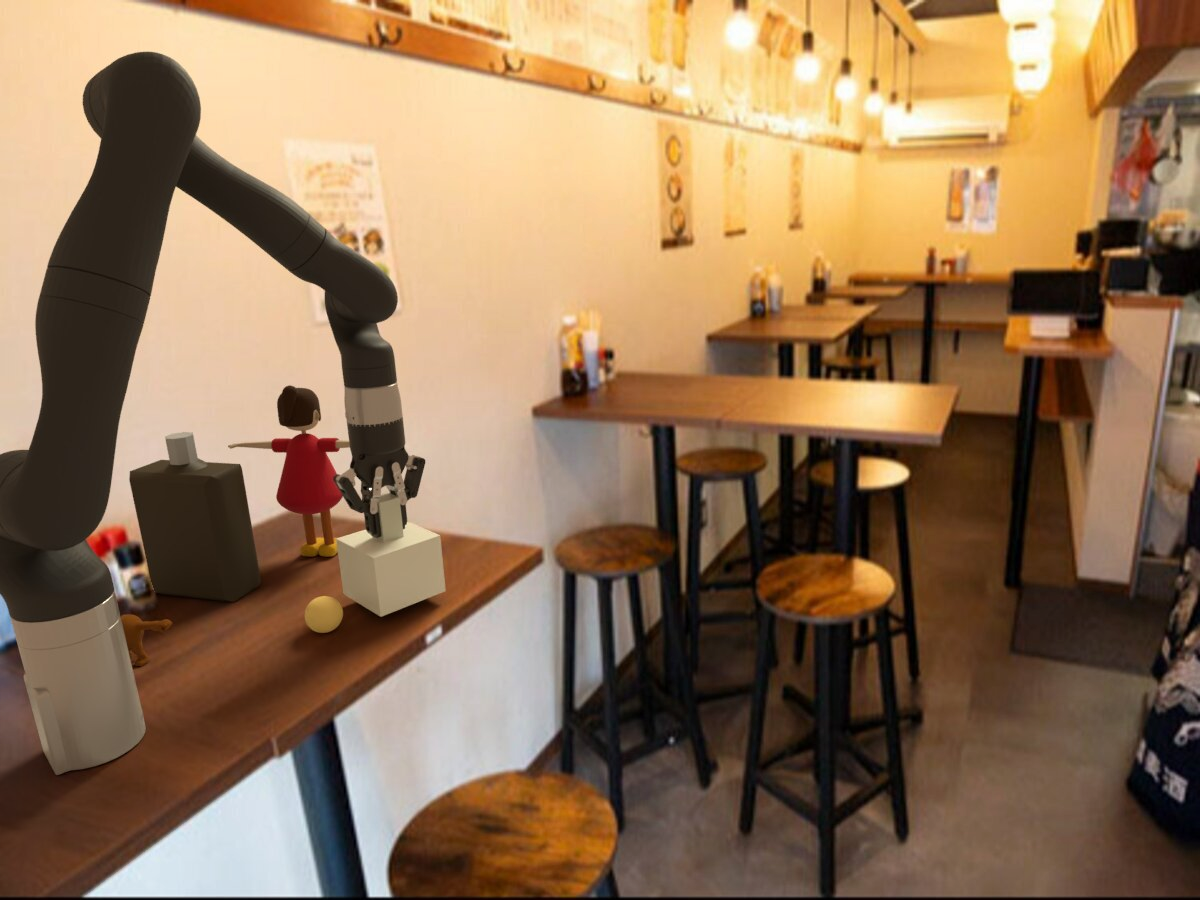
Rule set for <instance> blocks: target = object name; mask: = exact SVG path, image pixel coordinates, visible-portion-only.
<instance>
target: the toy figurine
mask: <svg viewBox="0 0 1200 900" xmlns="http://www.w3.org/2000/svg"><path fill="white" fill-rule="evenodd" d="M120 617H121V621H122V625H123V630H124V634H125V638H126V643H127V647H128V652H129V656H130V660H131V664H133V663H134V666H135V667H137V666H140V667H143V666H145V665H147V664H148V663H149V662H150V660H151V659H150V657H149V656H148V654H147V652H146V651H144V646H143V641H142V639H143V637H144V633H145V630H146V631H147V630H151V631H155V632H157V631H158V633H161V634H166V633H167V630H168V629H169V628H170V627H171V626H172V625H173V621H171V620H169V619H166V618H164V619H163V620H153V621H150V620H149V621H148V620H146V621H143V620H142V618H140V617H139V616H138V615H135V614H130V613H127V614H122V615H120ZM131 650H132V651H131ZM133 653H134V654H135V655H136V658H137V659H136V658H135V656H134V654H133ZM135 659H136V660H135ZM146 663H147V664H146Z"/></svg>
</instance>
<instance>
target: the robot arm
mask: <svg viewBox="0 0 1200 900" xmlns="http://www.w3.org/2000/svg"><path fill="white" fill-rule="evenodd" d="M82 108H83V113H84V115H85V118H86V120H87V122H88V125H90V127H91V129H92V130H93V131H94V133H95V134H96V135H97V136H98V137H99V138H100V142H99V148H98V153H97V157H96V161H95V164H94V168H93V171H92V174H91V176H90V178H89V180H88V181H87V184H86V186H85V188H84V190H83V191H82V193H81V194H80V195H81V196H80V197H79V199H78V200H77V202H76V204H75V206H74V207H73V209H72V210H71V213H70V215H69V216H68V217H67V220H66V222H65V224H64V226H63V228H62V230H61V232H59V236H58V238H57V240H56V241H55V244H54V247H53V249H52V251H51V254H50V255H49V259H48V262H47V266H46V271H45V274H44V279H43V282H42V286H41V289H40V293H39V297H38V300H37V304H36V311H35V321H34V323H35V324H34V326H35V341H36V347H37V355H38V359H39V360H38V362H39V367H40V375H41V390H42V391H41V393H42V394H41V395H42V396H41V403H40V410H39V414H38V418H37V422H36V426H35V428H34V432H33V434H32V439H31V442H30V445H29V447H28V449H15V450H9V451H6V452H3V453H0V597H2V599H3V600H4V602H5V604H6V607H7V610H8V614H9V617H10V621H11V625H12V628H13V633H14V636H15V639H16V643H17V646H18V647H17V648H18V651H19V655H20V659H21V663H22V666H23V669H24V674H23V681H24V684H25V685H24V686H25V688H26V692H27V696H28V700H29V702H30V707H31V710H32V714H33V718H34V722H35V725H36V729H37V731H38V736H39V739H40V744H41V749H42V751H43V753H44V755H45V757H46V759H47V761H48V763H49V765H50V767H51V769H52V771H53V773H54V774H55V775H56V776H59V775H61V774H64V773H67V772H69V771H77V770H85V769H89V768H93V767H97V766H99V765H102V764H103V765H104V764H105V763H108V762H110V761H113V760H115V759H117V758H119V757H121V756H122V755H125V753H128V752H129V751H131V750H132V749H133V748H135V746H137V744H139V743H140V741H141V740H142V739H143V737H144V735H145V733H146V729H147V727H146V724H145V723H146V722H145V719H144V712H143V709H142V705H141V700H140V696H139V692H138V687H137V683H136V678H135V674H134V669H133V665H132V663H131V660H130V656H129V652H128V647H127V643H126V638H125V634H124V630H123V625H122V621H121V617H120V616H121V613H120V609H119V604H118V599H117V596H116V591H115V585H114V582H113V581H114V580H113V577H112V573H111V570H110V568H109V567H108V565H107V564H106V563H105V561H104V560H102V559H101V557H100V556H98V554H97V553H96V552H95V551H94V550H93V548H92V547H91V546H90V544H89V542H88V540H87V539H88V538H89V537H90V536H91V535H92V534H93V533H94V532H95V530H97V528H98V526H99V525H100V523H101V522H102V520H103V518H104V516H105V513H106V511H107V507H108V505H109V499H110V493H111V487H112V482H113V481H112V479H113V473H114V472H113V471H114V465H115V464H114V463H115V456H116V447H117V439H118V432H119V425H120V420H121V415H122V410H123V405H124V402H125V398H126V393H127V391H128V385H129V383H130V382H129V381H130V378H131V373H132V370H133V369H132V368H133V365H134V364H133V363H134V361H135V355H136V350H137V348H138V343H139V341H140V337H141V335H142V332H143V328H144V325H145V320H146V318H147V312H148V308H149V304H150V300H151V296H152V292H153V287H154V280H155V277H156V271H157V269H158V267H157V266H158V263H159V259H160V255H161V250H162V246H163V241H164V237H165V233H166V227H167V223H168V216H169V212H170V207H171V204H172V199H173V197H174V194H175V190H176V188H177V189H179V190H181V191H182V192H183V193H185V194H186V195H187V196H190V197H191V198H193V199H194V200H196V201H197V202H199V203H200V204H202V205H203V206H204V207H206V208H208V209H209V210H210V211H211V212H213V213H214V214H215V215H218V216H219V217H220V218H221V219H223V220H224V221H225V222H227V223H228V224H229V225H231V226H233V227H234V228H235V229H236V230H237V231H239V233H241V234H242V235H244V236H245V237H246V238H248V239H249V240H250V241H251V242H253V243H254V244H255V245H256V246H257V247H259V248H260V249H261V250H263V251H264V252H265V253H266V254H267V255H268V256H270V257H271V258H272V259H274V260H275V261H276V262H277V263H278V264H280V265H281V266H282V267H284V268H285V270H287V271H288V272H289V273H291V274H292V275H293V276H295V277H297V279H300V280H302V281H304V282H307V283H309V284H313V285H315V286H317V287H319V288H320V289H322V290H323V291H324V307H325V312H326V316H327V320H328V324H329V325H330V328H331V332H332V335H333V338H334V341H335V344H336V346H337V348H338V351H339V354H340V358H341V371H342V379H343V386H344V387H343V388H344V399H343V400H344V410H345V413H344V415H345V419H346V426H347V434H348V436H347V437H348V440H349V444H350V447H349V449H350V453H351V462H350V464H349V469H347V470H346V471H344V472H342V474H338V473H337V474H336V475H335V476H334V477H333V481H334V482H335V484H336V486H337V487H338V489H339V491H340V492H341V494H342V496H343V497H342V498H343V499H344V501H345V502H346V504H347V506H348V507H349V509H351V510H353V511H354V512H356V513H359V514H363V517H364V523H365V524H364V525H365V529H366V531H367V532H368V533H369V534H370V535H371V536H373V537H375V538H378V537H381V526H380V518H379V513H378V512H377V511H378V501H379V497H380V496H381V494H382V488H384V487H385V488H386V489H387V491H388V493H390V494H392V495H395V496H397V497H399V498H400V507H401V516H402V525H403V529H405V525H407V521H408V515H407V505H406V504H407V503H408V501H410V500H411V499H415V498H417V496H418V493H419V489H420V486H421V482H422V477H423V473H424V469H425V465H426V459H425V458H424V457H421V456H418V455H414V454H413V455H409V453H408V451H407V450H406V447H405V445H406V435H405V434H406V433H405V426H404V417H403V408H402V399H401V394H400V389H399V387H398V384H399V383H398V379H397V378H398V376H397V370H396V369H397V368H396V360H395V353H394V349H393V346H392V345H391V343H390V342H389V341H388V340H386V339H384V338H383V337H382V335H381V333H380V331H379V327H378V323H382V322H385V321H387V320H388V319H390V318H391V317H392V316H393V314H395V311H396V310H397V306H398V302H399V301H398V300H399V299H398V292H397V289H396V286H395V284H394V282H393V281H392V279H391V278H390V276H389V275H388V274H387V273H386V272H385V271H384V270H382V268H380V266H378V265H376V263H374V262H372V261H371V260H370V259H368V258H367V257H365V256H363V255H362V254H360V253H359V252H358V251H356V250H355V249H353V248H352V247H350V246H348V245H346V244H345V243H343V242H341V241H340V240H338V239H337V238H335V237H334V235H332V234H331V233H330V232H329V230H327V228H325V227H324V226H323V224H321V223H320V222H319V221H317V219H315V218H314V217H313V216H312V215H311V214H310V213H309V212H308V211H306V209H304V208H303V207H302V206H301V205H299V204H298V203H297V202H295V201H294V200H293V199H292V198H291V197H289V196H288V195H286V194H284V193H283V192H282V191H279V190H278V189H277V188H274V187H273V186H272V185H269V184H268V183H266V182H264V181H262V180H260V179H258V178H256V177H255V176H253V175H251V174H250V173H248V172H246V171H244V170H243V169H241V168H240V167H238V166H236V165H234V164H233V163H231V162H230V161H229V160H227V159H226V158H224V157H223V156H221V155H220V154H218V153H217V152H216V151H214V149H212V148H211V147H210V146H209V145H208V144H206V143H205V142H204V141H202V139H201V138H200V137H199V136H197V132H198V131H199V127H200V123H201V117H202V115H201V113H202V107H201V100H200V95H199V92H198V88H197V87H196V84H195V82H194V80H193V78H192V77H191V76H190V74H189V73H188V72H187V70H186V69H185V68H184V67H183V66H182V65H181V64H180V63H179V62H177V61H176V60H175V59H173V58H172V57H170V56H167V55H165V54H163V53H159V52H156V51H137V52H133V53H129V54H125V55H122V57H121V56H120V57H119V58H116V59H115V60H113V61H112V62H111V63H110V64H108V65H107V66H105V67H104V68H102V69H101V70H99V71H98V72H97V73H96V74H95V75H94V76H93V77H91V78H90V79H89V81H88V82H87V83H86V84H85V87H84V90H83V94H82ZM405 468H406V472H405V474H404V478H403V476H402V474H403V472H404V469H405ZM355 478H357V479H358V480H359V481H360V494H361V497H360V494H359V493H358V492H357V489H356V488H355V486H356V480H355Z"/></svg>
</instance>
